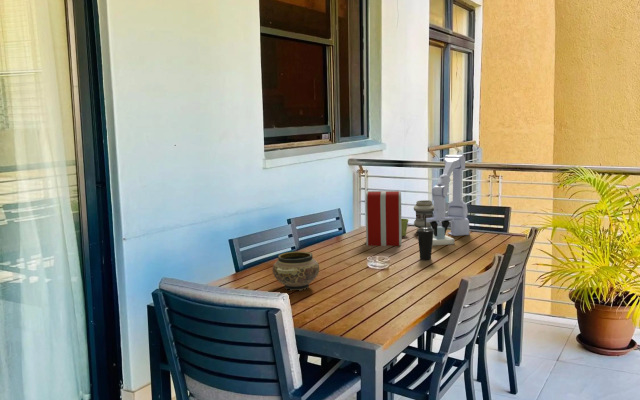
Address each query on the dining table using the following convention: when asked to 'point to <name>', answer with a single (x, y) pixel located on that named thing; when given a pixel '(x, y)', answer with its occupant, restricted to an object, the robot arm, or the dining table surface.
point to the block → (440, 233)
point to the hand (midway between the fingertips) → (439, 235)
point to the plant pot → (404, 226)
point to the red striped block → (383, 218)
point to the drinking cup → (425, 242)
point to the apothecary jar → (423, 213)
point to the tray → (443, 241)
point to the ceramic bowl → (296, 270)
